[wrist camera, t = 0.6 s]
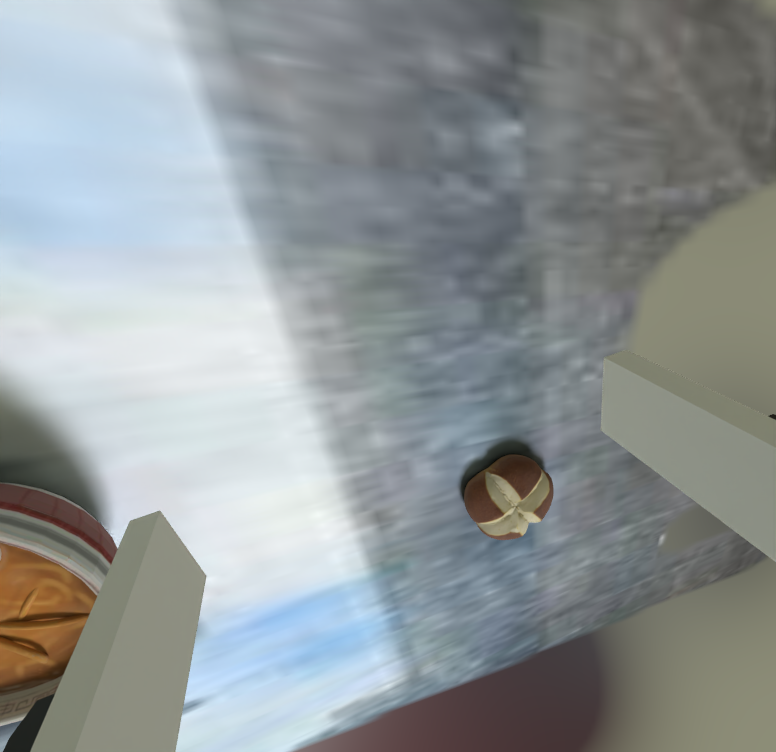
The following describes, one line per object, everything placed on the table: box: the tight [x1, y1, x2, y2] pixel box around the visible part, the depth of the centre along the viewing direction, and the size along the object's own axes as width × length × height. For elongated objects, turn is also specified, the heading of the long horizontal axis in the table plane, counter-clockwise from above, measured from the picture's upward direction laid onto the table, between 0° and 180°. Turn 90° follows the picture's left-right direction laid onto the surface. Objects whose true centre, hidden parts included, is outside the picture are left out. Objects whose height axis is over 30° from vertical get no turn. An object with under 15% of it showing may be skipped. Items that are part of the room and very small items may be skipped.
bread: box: [464, 454, 553, 540], centre depth 49 cm, size 11×11×5 cm
